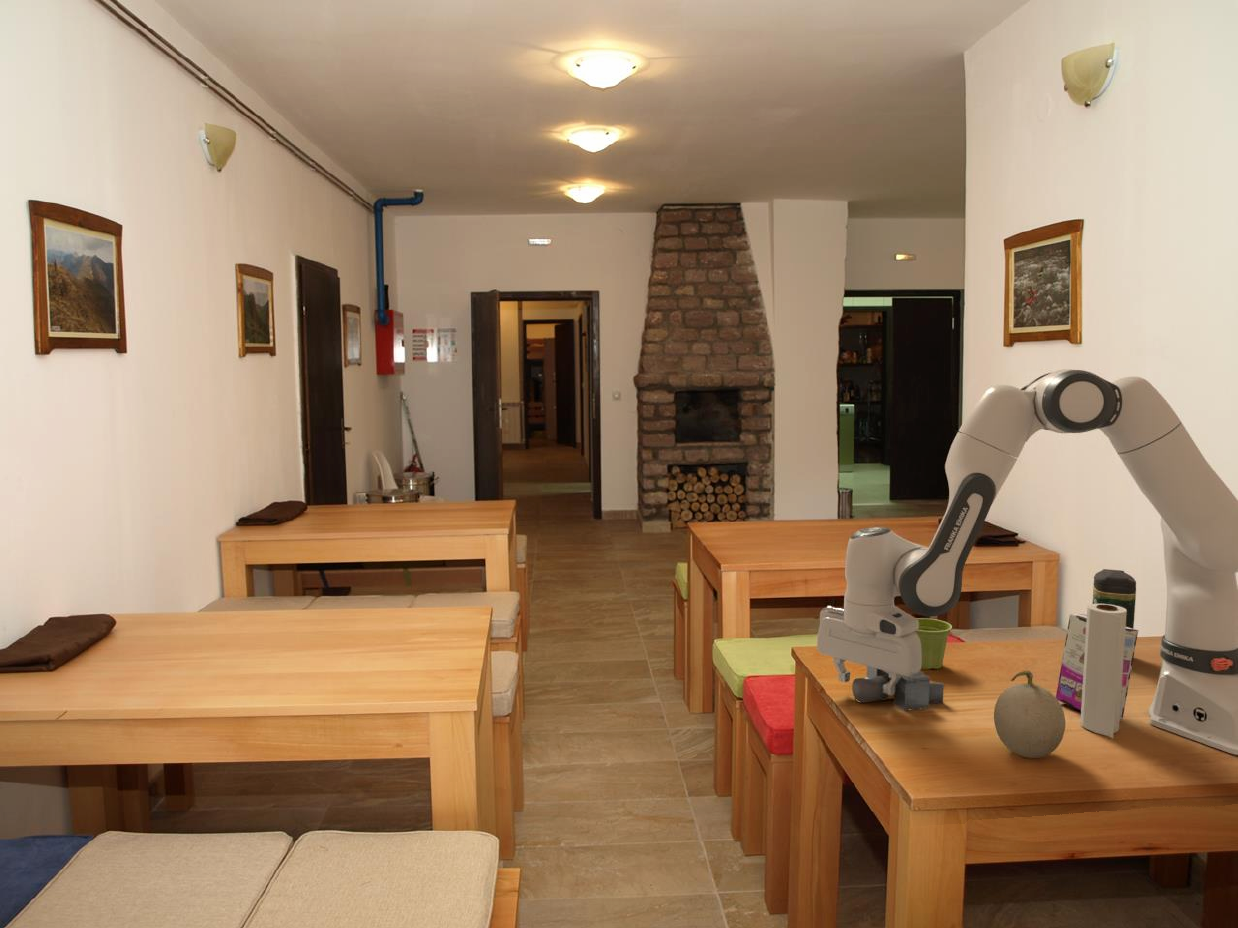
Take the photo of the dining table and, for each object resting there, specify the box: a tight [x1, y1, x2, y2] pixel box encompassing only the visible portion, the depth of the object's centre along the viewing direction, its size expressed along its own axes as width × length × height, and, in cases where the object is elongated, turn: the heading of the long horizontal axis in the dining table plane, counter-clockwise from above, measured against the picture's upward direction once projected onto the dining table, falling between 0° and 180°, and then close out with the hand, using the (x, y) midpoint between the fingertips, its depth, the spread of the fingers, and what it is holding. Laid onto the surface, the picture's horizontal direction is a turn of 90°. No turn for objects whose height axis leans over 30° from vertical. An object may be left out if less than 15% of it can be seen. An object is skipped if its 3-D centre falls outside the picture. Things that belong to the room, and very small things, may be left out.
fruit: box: [993, 670, 1066, 759], centre depth 154 cm, size 10×12×15 cm
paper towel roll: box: [1080, 603, 1127, 739], centre depth 164 cm, size 7×6×21 cm
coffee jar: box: [1091, 568, 1137, 629], centre depth 201 cm, size 10×8×19 cm
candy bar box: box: [1055, 613, 1139, 721], centre depth 172 cm, size 11×5×16 cm, turn 20°
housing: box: [866, 666, 945, 711], centre depth 180 cm, size 13×9×6 cm
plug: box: [851, 676, 894, 704], centre depth 179 cm, size 12×4×4 cm, turn 106°
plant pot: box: [914, 617, 953, 670], centre depth 197 cm, size 9×9×9 cm
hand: (866, 687), depth 178 cm, fingers open, 8 cm apart
